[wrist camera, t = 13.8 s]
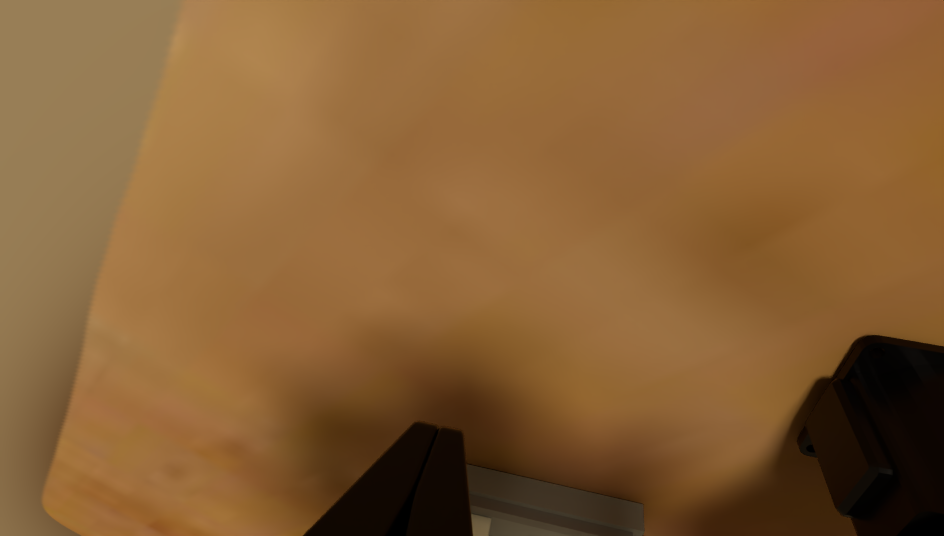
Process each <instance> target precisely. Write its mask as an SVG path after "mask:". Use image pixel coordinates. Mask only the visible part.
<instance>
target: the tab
mask: <svg viewBox="0 0 944 536" xmlns="http://www.w3.org/2000/svg"><path fill="white" fill-rule="evenodd" d="M471 518H472V529H473V536H489V531H490V524H491V518H487V517H483V516H479V515H475V514H471Z"/></svg>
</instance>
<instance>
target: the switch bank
mask: <svg viewBox="0 0 944 536" xmlns="http://www.w3.org/2000/svg"><path fill="white" fill-rule="evenodd" d="M467 474H468V485H469V496H470V507H471V514H475V515H479V516H483V517H487V518H491V524H490V531H489V536H643V534H644V510H643V504H640V503H635V502H631V501H627V500H622V499H618V498H613V497H609V496H605V495H600V494H596V493H592V492H587V491H583V490H578V489H574V488H570V487H565V486H561V485H556V484H552V483H548V482H543V481H539V480H535V479H530V478H526V477H521V476H517V475H513V474H508V473H504V472H499V471H495V470H491V469H486V468H482V467H478V466H473V465H469V464H467Z"/></svg>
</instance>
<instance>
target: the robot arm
mask: <svg viewBox="0 0 944 536" xmlns="http://www.w3.org/2000/svg"><path fill="white" fill-rule="evenodd" d="M874 348H879V349H877V350H874V351H870V350H872V349H874ZM805 425H806V426H805V428H804V429H803V431H802V432H801V434H800V435H799V437H798V439H797V443H798V446H799V449H800V452H801V453H803V454H804V455H807V456H811V457H816V458H818V461H819V464H820V467H821V469H822V472H823V475H824V478H825V480H826V483H827V486H828V489H829V491H830V494H831V497H832V500H833V503H834V505H835V508H836V509H837V511H838V512H839V513H840V515H842V516H845V517H849V518H851V520H852V523H853V525H854V528H855V530H856V533H857V536H944V346H938V345H932V344H926V343H920V342H915V341H909V340H903V339H897V338H891V337H886V336H880V335H872V336H867V337H865V338H863V339H861V340H860V341H859V342H858V344H857V345H856V347H855V349H854V350H853V352H852V353H851V355H850V356H849V358H848V360H847V361H846V363H845V364H844V366H843V367H842V369H841V371H840V372H839V374H838V375H837V377H836V379H835V380H834V381H832V382H831V383H830V384H829V386H828V387H827V389H826V390H825V392H824V394H823V395H822V397H821V398H820V400H819V401H818V403H817V405H816V406H815V408H814V409H813V411H812V413H811V414H810V416H809V417H808V419H807V421H806V423H805ZM303 536H473V529H472V518H471V507H470V496H469V485H468V474H467V463H466V452H465V442H464V433H463V431H462V430H460V429H456V428H451V427H447V426H442V427H440V428H439V426H438V425H436V424H433V423H428V422H423V421H416V422H414V423H413V424H412V425H411V426H410V427H409V428H408V429H407V430H406V431H405V432H404V433H403V434H402V435H401V436H400V437H399V438H398V439H397V440H396V441H395V442H394V443H393V444H392V445H391V446H390V447H389V448H388V449H387V450H386V451H385V452H384V454H383V455H382V456H381V457H380V458H379V459H378V460H377V461H376V462H375V463H374V464H373V465H372V466H371V467H370V468H369V469H368V470H367V471H366V472H365V473H364V474H363V475H362V476H361V477H360V478H359V479H358V480H357V481H356V482H355V483H354V484H353V485H352V486H351V487H350V488H349V489H348V490H347V491H346V492H345V493H344V494H343V495H342V496H341V497H340V498H339V499H338V500H337V501H336V502H335V503H334V504H333V505H332V506H331V507H330V509H329V510H328V511H327V512H326V513H325V514H324V515H323V516H322V517H321V518H320V519H319V520H318V521H317V522H316V523H315V524H314V525H313V526H312V527H311V528H310V529H309V530H308V531H307V532H306V533H305V534H304V535H303Z"/></svg>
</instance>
